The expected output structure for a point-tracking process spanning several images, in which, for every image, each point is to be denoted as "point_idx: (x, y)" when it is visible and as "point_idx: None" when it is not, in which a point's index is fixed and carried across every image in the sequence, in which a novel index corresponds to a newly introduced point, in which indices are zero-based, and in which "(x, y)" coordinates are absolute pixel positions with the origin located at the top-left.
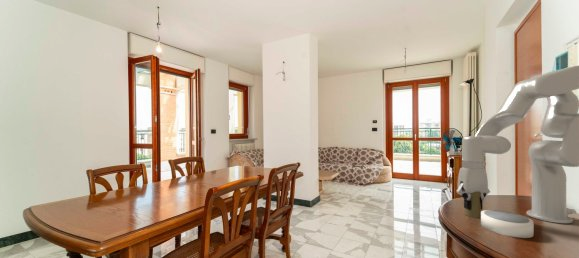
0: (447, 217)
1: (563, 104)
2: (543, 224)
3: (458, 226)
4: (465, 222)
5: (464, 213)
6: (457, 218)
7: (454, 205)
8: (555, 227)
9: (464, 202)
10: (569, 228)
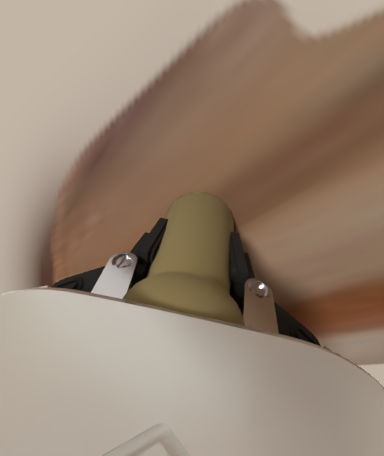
0: (67, 215)
1: None
2: (336, 336)
3: (64, 275)
4: (104, 264)
5: (171, 205)
6: (101, 233)
7: (282, 10)
8: (333, 350)
9: (136, 247)
10: (359, 361)
